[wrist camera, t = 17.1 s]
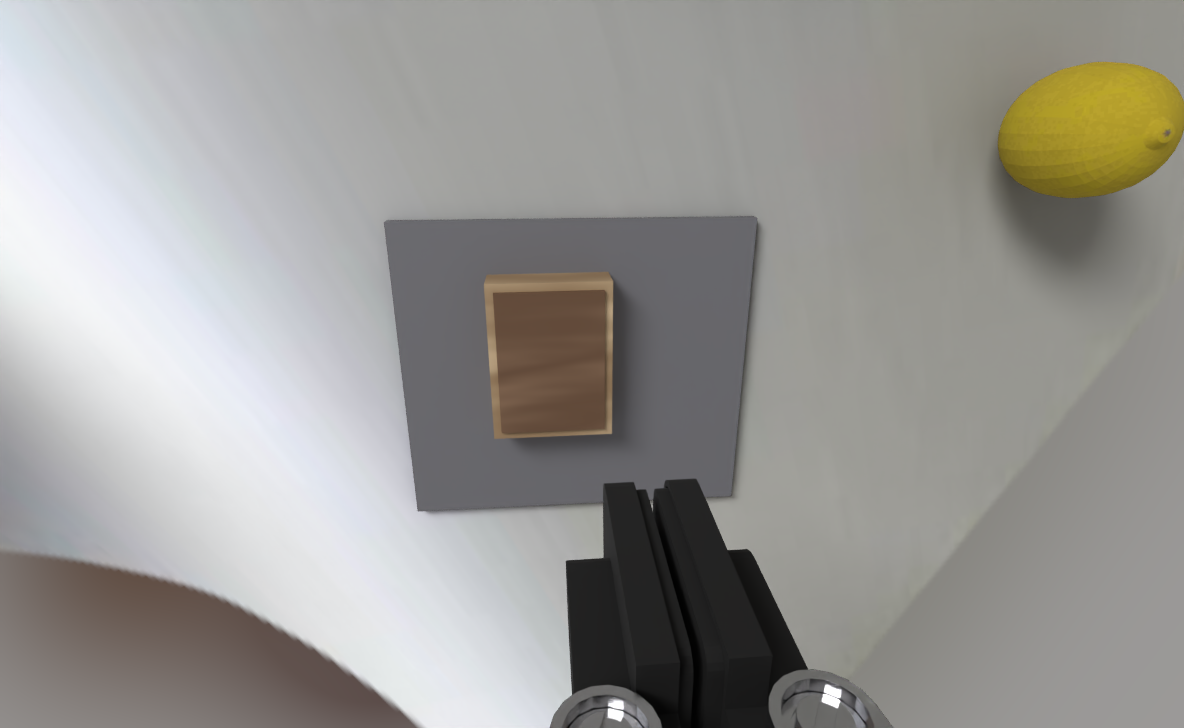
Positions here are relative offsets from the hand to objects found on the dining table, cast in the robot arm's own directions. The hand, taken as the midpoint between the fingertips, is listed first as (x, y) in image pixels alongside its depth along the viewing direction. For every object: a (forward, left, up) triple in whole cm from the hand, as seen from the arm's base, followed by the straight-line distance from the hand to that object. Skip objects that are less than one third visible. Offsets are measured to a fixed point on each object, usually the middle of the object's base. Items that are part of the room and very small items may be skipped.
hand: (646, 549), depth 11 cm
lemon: (-22, -7, -22) cm, 32 cm away
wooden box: (+1, +8, -20) cm, 22 cm away
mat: (0, +5, -22) cm, 22 cm away
